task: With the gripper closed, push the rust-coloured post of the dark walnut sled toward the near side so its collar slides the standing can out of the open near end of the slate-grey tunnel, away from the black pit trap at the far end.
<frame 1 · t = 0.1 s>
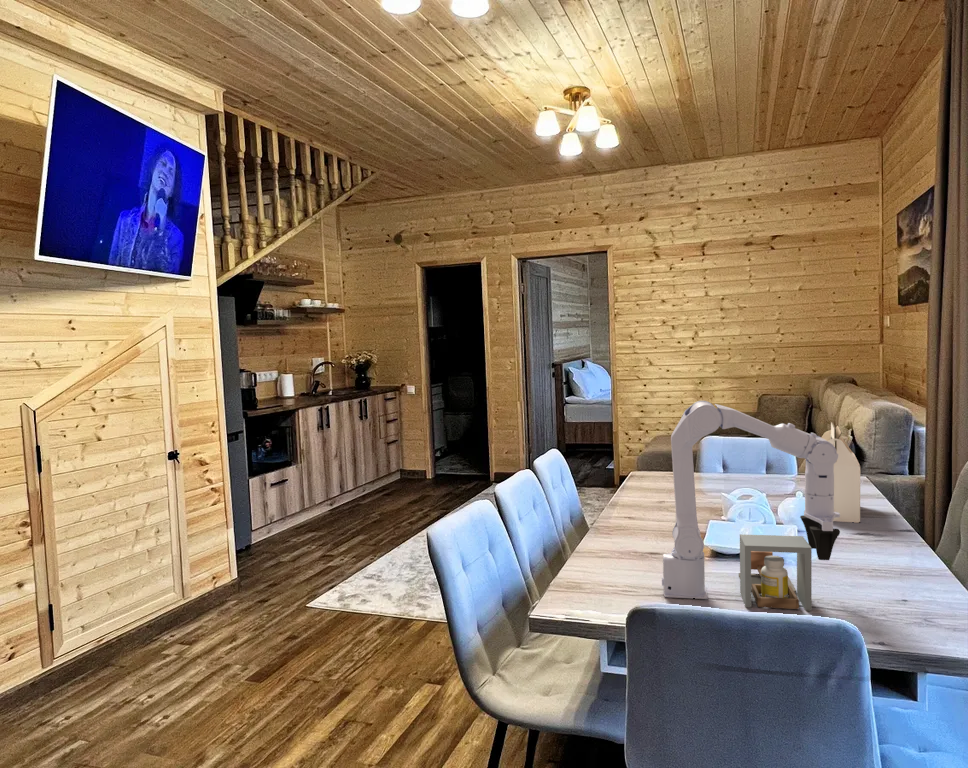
hand: (819, 553, 150), 10 cm above the table, tool pointing down, fingers open, 7 cm apart
tunnel: (774, 601, 150), on the table
supplement bottle: (774, 602, 150), resting in sled
sled: (768, 577, 157), point 3 cm above the table, slide at 0.0 cm
gable box: (833, 513, 217), on the table
pit trap: (766, 584, 160), on the table
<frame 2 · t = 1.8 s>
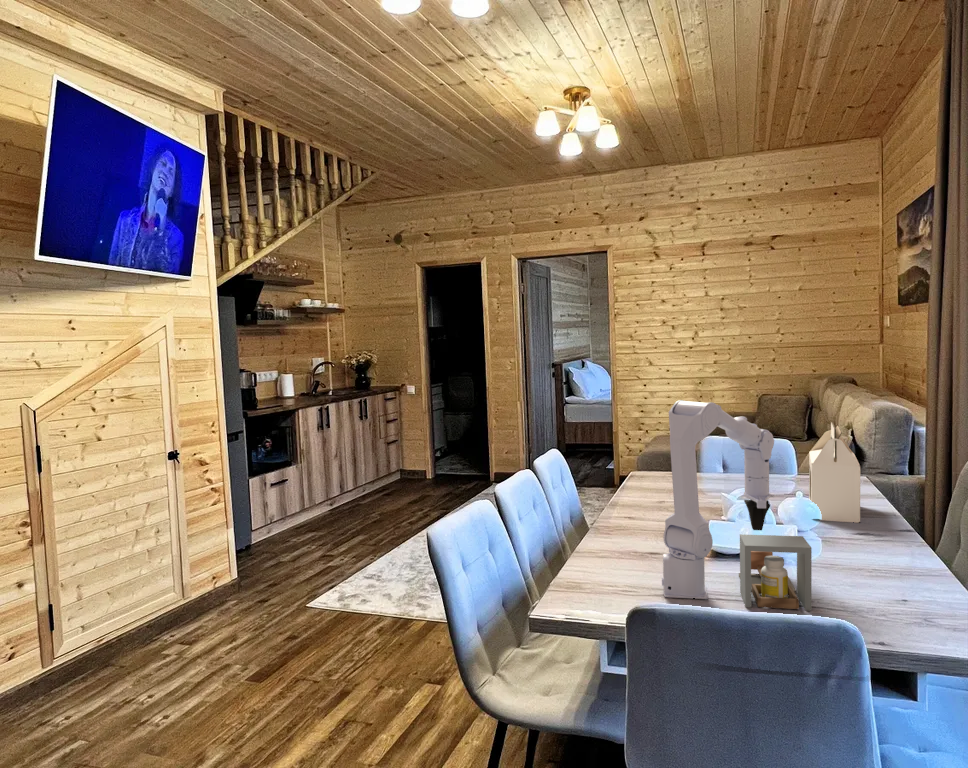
hand: (757, 529, 172), 9 cm above the table, tool pointing down, fingers closed
nothing on the table moved.
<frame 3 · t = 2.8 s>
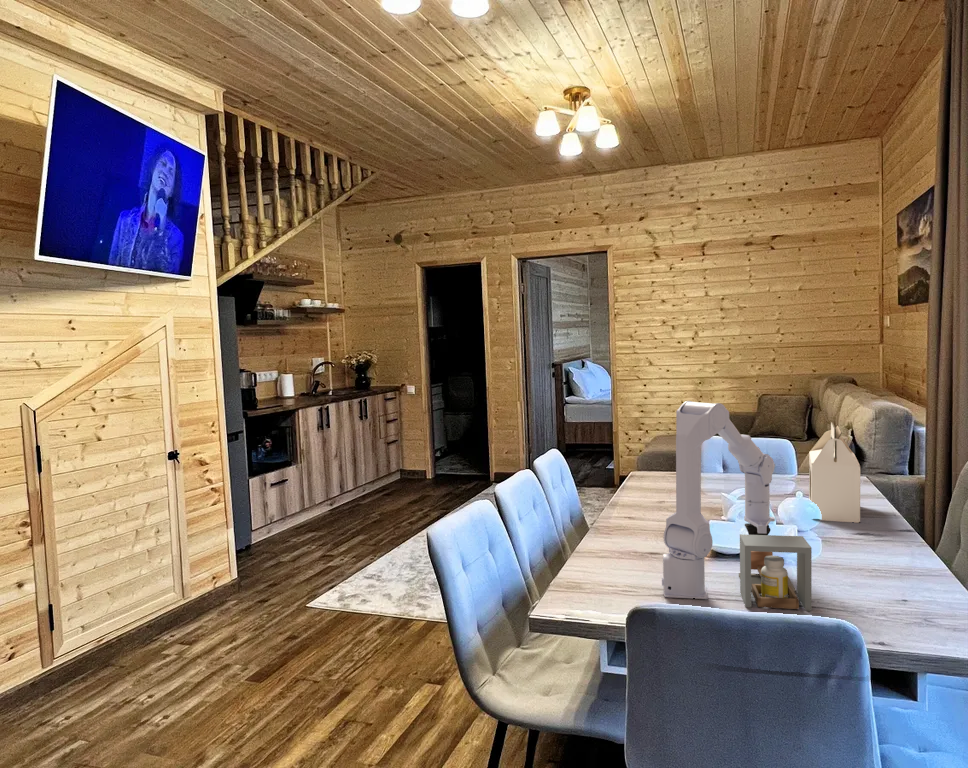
hand: (757, 553, 172), 3 cm above the table, tool pointing down, fingers closed
nothing on the table moved.
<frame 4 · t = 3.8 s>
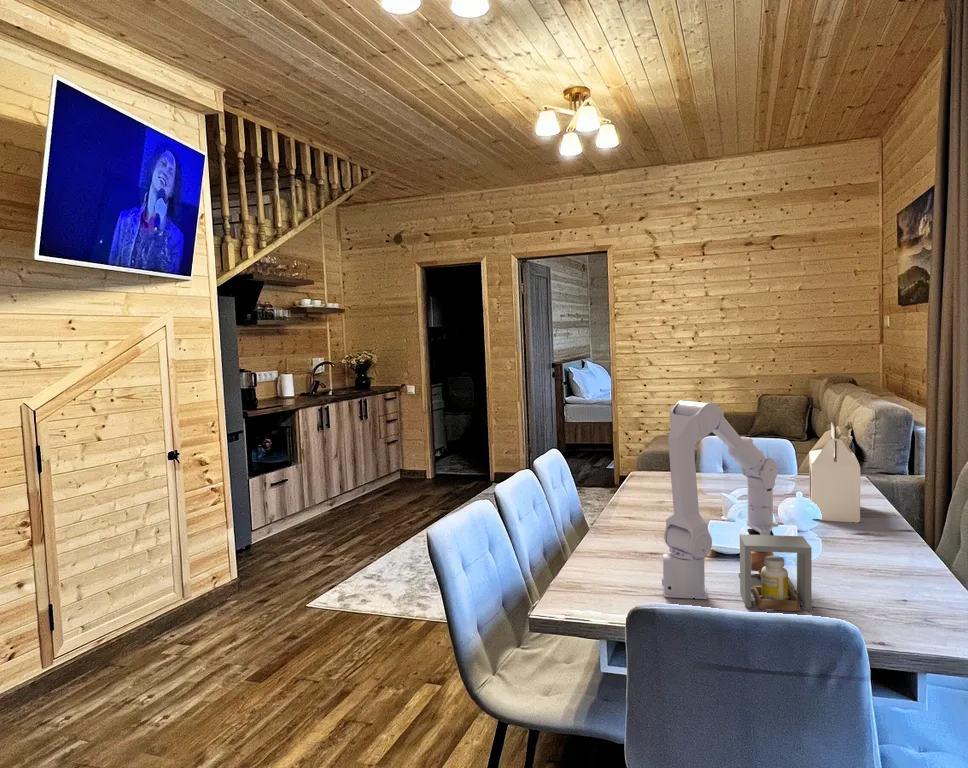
hand: (760, 559, 167), 3 cm above the table, tool pointing down, fingers closed
supplement bottle: (774, 603, 150), resting in sled
sled: (769, 578, 156), point 3 cm above the table, slide at 1.1 cm, touching supplement bottle, gripper
everything else where it was.
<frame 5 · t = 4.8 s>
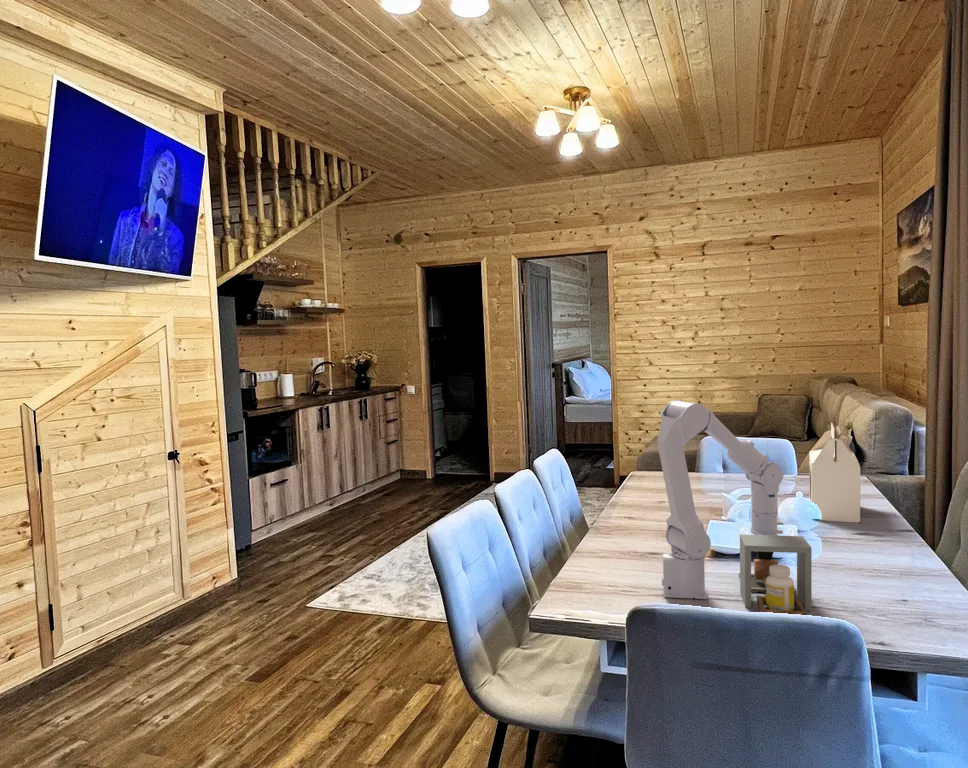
hand: (764, 567, 162), 3 cm above the table, tool pointing down, fingers closed
supplement bottle: (780, 613, 144), resting in sled
sled: (774, 588, 150), point 3 cm above the table, slide at 6.8 cm, touching supplement bottle, gripper
everything else where it was.
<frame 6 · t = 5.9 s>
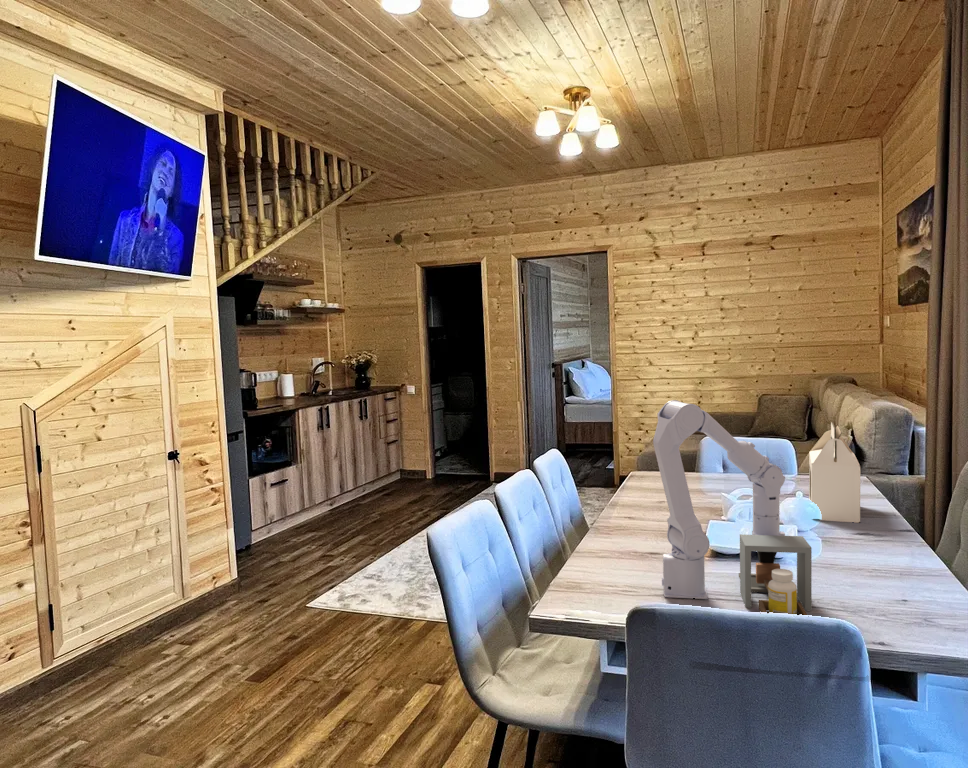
hand: (766, 570, 160), 3 cm above the table, tool pointing down, fingers closed
supplement bottle: (782, 618, 142), resting in sled
sled: (776, 592, 148), point 3 cm above the table, slide at 9.3 cm, touching supplement bottle, gripper
everything else where it was.
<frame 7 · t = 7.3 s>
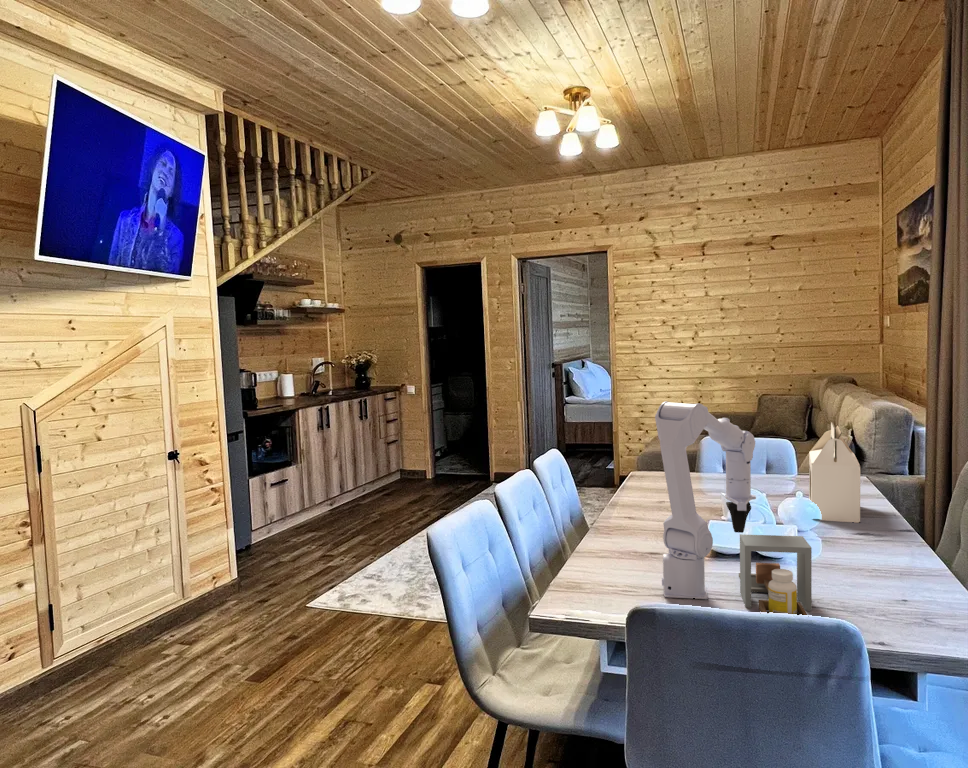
hand: (738, 531, 170), 9 cm above the table, tool pointing down, fingers closed
supplement bottle: (782, 618, 142), resting in sled
sled: (776, 592, 148), point 3 cm above the table, slide at 9.3 cm
everything else where it was.
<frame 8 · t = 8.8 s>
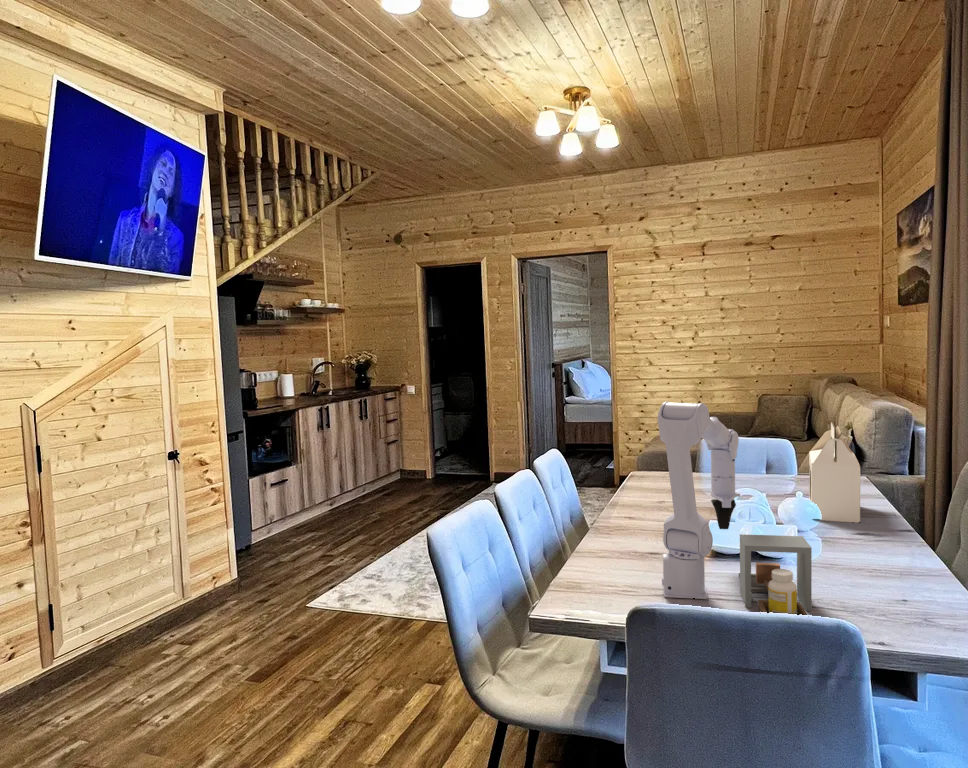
hand: (723, 528, 173), 9 cm above the table, tool pointing down, fingers closed
nothing on the table moved.
at the end: supplement bottle inside the target area (1.1 cm from its centre), resting in sled; supplement bottle tilted 0°; sled slide at 9.3 cm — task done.
